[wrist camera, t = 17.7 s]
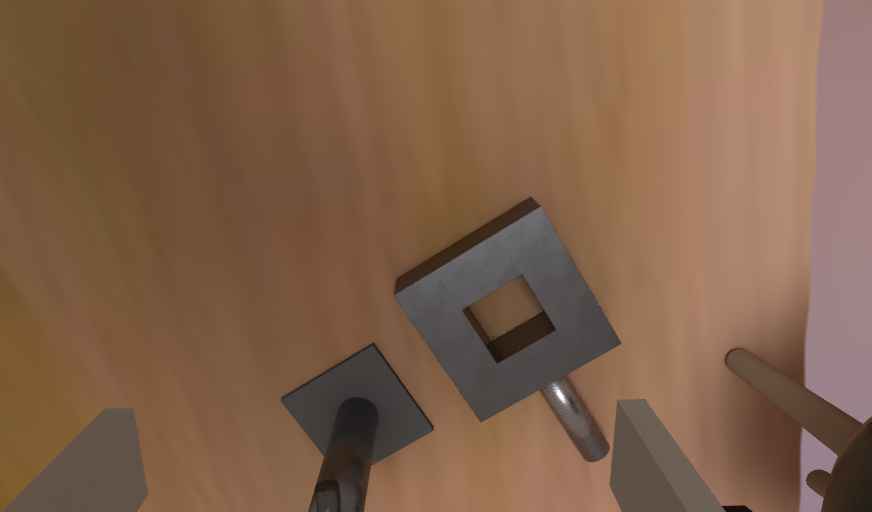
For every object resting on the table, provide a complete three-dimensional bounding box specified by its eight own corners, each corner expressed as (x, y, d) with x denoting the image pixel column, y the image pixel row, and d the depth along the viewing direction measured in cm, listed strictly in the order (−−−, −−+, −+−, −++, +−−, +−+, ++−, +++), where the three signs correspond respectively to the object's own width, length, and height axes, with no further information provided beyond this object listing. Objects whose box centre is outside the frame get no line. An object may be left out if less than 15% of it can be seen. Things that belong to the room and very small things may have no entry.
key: (340, 450, 48) (303, 595, 34) (333, 381, 46) (292, 503, 32) (380, 449, 48) (361, 592, 34) (375, 379, 46) (353, 500, 32)
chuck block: (396, 278, 45) (393, 295, 41) (530, 196, 43) (540, 206, 39) (530, 475, 50) (539, 507, 46) (655, 408, 48) (675, 435, 44)
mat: (282, 397, 47) (280, 400, 47) (373, 342, 46) (372, 345, 46) (344, 477, 49) (343, 480, 49) (433, 426, 48) (433, 430, 48)
